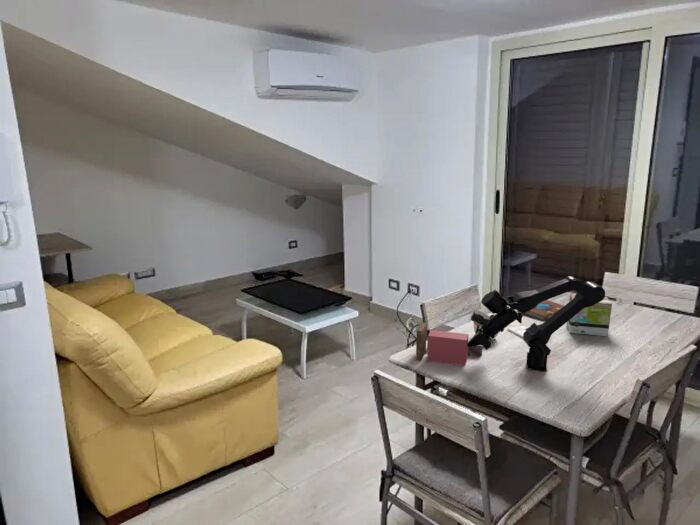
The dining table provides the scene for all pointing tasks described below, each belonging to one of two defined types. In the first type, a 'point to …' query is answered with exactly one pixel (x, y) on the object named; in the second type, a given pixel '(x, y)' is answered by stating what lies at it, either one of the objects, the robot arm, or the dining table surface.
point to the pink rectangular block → (447, 347)
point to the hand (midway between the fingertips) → (467, 345)
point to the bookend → (422, 344)
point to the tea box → (591, 319)
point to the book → (544, 310)
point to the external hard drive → (518, 330)
